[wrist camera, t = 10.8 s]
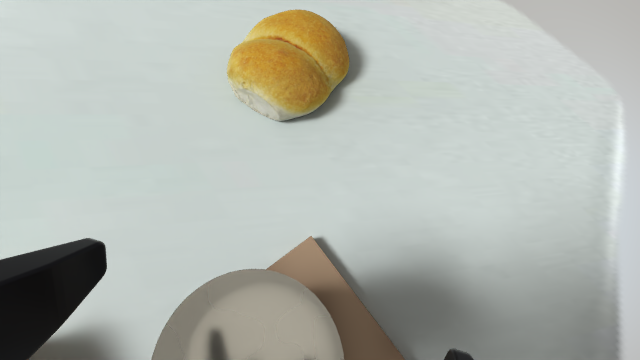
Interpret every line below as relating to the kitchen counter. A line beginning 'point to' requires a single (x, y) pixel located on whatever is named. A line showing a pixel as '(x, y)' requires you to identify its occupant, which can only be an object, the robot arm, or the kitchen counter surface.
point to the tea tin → (250, 321)
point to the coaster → (338, 303)
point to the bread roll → (288, 64)
